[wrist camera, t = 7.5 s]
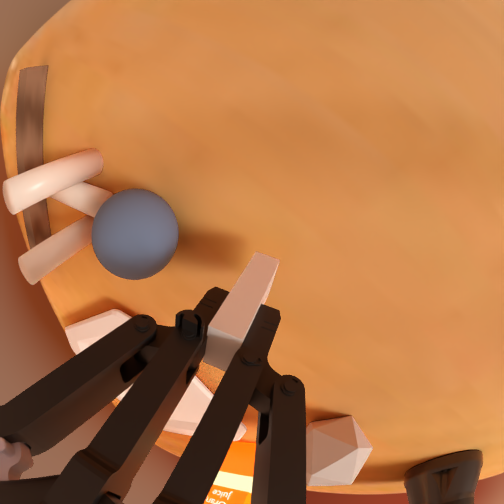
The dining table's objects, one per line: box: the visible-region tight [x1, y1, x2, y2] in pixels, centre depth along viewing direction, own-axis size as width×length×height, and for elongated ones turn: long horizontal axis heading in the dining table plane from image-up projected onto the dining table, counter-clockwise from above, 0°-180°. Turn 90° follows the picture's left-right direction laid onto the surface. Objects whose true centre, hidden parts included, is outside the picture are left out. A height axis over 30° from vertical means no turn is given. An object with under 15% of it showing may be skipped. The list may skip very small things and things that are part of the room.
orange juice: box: [204, 441, 256, 504], centre depth 28 cm, size 8×9×20 cm
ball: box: [91, 189, 179, 280], centre depth 17 cm, size 6×6×6 cm
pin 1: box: [3, 148, 103, 215], centre depth 16 cm, size 2×2×8 cm
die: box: [306, 416, 373, 486], centre depth 23 cm, size 8×9×10 cm
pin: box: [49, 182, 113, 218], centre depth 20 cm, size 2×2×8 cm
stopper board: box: [16, 65, 51, 249], centre depth 21 cm, size 24×2×2 cm, turn 167°
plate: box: [65, 309, 247, 441], centre depth 33 cm, size 25×25×2 cm
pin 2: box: [18, 215, 94, 285], centre depth 19 cm, size 2×2×8 cm
